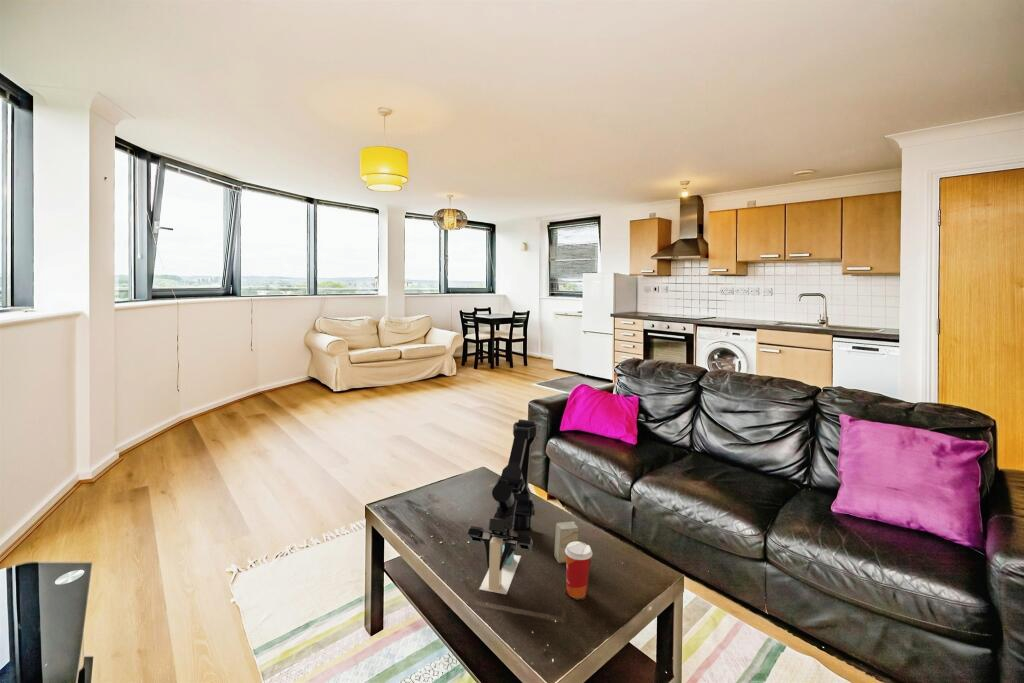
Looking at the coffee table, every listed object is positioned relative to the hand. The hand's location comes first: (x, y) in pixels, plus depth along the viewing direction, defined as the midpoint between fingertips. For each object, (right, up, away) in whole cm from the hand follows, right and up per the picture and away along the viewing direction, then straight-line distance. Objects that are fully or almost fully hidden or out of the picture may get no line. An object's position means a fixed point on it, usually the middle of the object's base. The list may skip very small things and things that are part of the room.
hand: (494, 569), depth 132 cm
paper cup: (+23, -8, +2) cm, 25 cm away
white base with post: (+2, -6, +9) cm, 11 cm away
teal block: (+3, -4, +15) cm, 16 cm away
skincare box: (+22, -6, +18) cm, 29 cm away
